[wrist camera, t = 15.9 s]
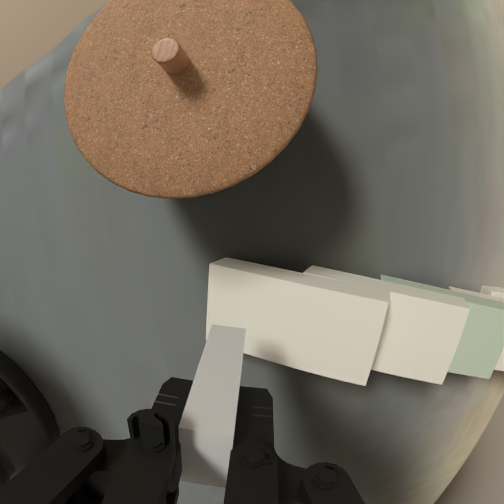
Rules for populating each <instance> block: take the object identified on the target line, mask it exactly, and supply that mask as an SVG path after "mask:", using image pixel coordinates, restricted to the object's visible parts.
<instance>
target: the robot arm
mask: <svg viewBox="0 0 504 504" xmlns="http://www.w3.org/2000/svg"><path fill="white" fill-rule="evenodd" d="M245 334H246V328H237V327H229V326H221V325H213V324H212V327H211V330H210V333H209V336H208V339H207V342H206V345H205V348H204V351H203V354H202V357H201V360H200V363H199V366H198V369H197V372H196V375H195V378H194V381H191V380H185V379H179V378H174V377H171V378H170V379H169V380H167V381H166V382H165V383H163V385H162V387H161V389H160V391H159V394H158V396H157V398H156V400H155V402H154V404H153V407H152V409H144V410H139V411H137V412H135V413H133V414H131V415H130V416H129V418H128V419H127V421H128V427H129V432H130V438H129V439H125V440H103V439H102V437H101V435H100V434H99V433H97V432H96V431H95V430H93V429H90V428H87V427H77V428H72V429H70V430H68V431H67V432H65V433H64V434H63V435H62V436H61V437H59V433H58V427H57V424H56V421H55V419H54V416H53V414H52V412H51V410H50V408H49V407H48V405H47V403H46V402H45V400H44V399H43V397H42V396H41V394H40V393H39V391H38V390H37V389H36V387H35V386H34V385H33V383H32V382H31V381H30V380H29V379H28V377H27V376H26V375H25V374H24V373H23V372H22V371H21V370H20V369H19V368H18V367H17V366H16V365H15V364H14V363H13V362H12V361H11V360H10V359H9V358H8V357H7V356H5V355H4V354H3V353H1V352H0V504H177V499H178V495H179V486H178V485H179V481H180V477H181V479H182V481H186V482H192V483H198V484H205V485H212V486H219V487H226V490H225V498H224V504H365V503H364V501H363V499H362V498H361V496H360V494H359V493H358V491H357V489H356V487H355V486H354V484H353V482H352V480H351V479H350V477H349V475H348V474H347V473H346V471H345V470H344V469H343V468H341V467H339V466H337V465H336V464H331V463H317V464H314V465H311V466H310V467H308V468H307V469H305V468H301V467H297V466H294V465H291V464H288V463H286V462H285V461H283V460H282V459H281V458H280V457H279V456H278V455H277V453H276V452H275V449H274V429H273V398H272V396H271V395H270V393H269V392H268V390H267V389H263V388H252V387H243V386H240V378H241V369H242V360H243V351H244V342H245Z"/></svg>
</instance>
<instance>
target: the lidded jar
mask: <svg viewBox="0 0 504 504" xmlns="http://www.w3.org/2000/svg"><path fill="white" fill-rule="evenodd" d="M316 78H317V56H316V49H315V45H314V41H313V38H312V34H311V32H310V30H309V28H308V25H307V23H306V21H305V19H304V17H303V16H302V15H301V13H300V12H299V10H298V9H297V8H296V6H295V5H294V4H293V3H292V2H291V1H290V0H111V1H110V2H109V3H108V4H107V5H106V6H105V7H104V8H103V9H102V10H101V11H100V12H99V13H98V14H97V15H96V16H95V18H94V19H93V20H92V21H91V23H90V24H89V25H88V27H87V28H86V29H85V31H84V33H83V34H82V36H81V38H80V40H79V42H78V43H77V45H76V48H75V50H74V52H73V55H72V57H71V60H70V63H69V67H68V71H67V76H66V83H65V94H64V99H65V111H66V117H67V121H68V125H69V129H70V132H71V134H72V137H73V139H74V141H75V143H76V145H77V147H78V149H79V150H80V152H81V153H82V155H83V156H84V158H85V159H86V161H87V162H88V163H89V164H90V165H91V166H92V167H93V168H94V169H95V170H96V171H97V172H98V173H99V174H101V175H102V176H104V177H105V178H106V179H108V180H109V181H111V182H112V183H114V184H116V185H118V186H120V187H122V188H124V189H126V190H128V191H131V192H134V193H138V194H142V195H145V196H149V197H158V198H167V199H174V198H191V197H196V196H201V195H206V194H211V193H214V192H217V191H220V190H223V189H225V188H228V187H231V186H234V185H236V184H237V183H239V182H241V181H243V180H245V179H247V178H249V177H250V176H252V175H254V174H255V173H257V172H258V171H259V170H261V169H262V168H263V167H265V166H266V165H267V164H269V163H270V162H271V161H272V160H273V159H274V158H275V157H276V156H277V155H278V154H279V153H280V152H281V151H282V150H283V149H284V148H285V147H286V146H287V145H288V144H289V142H290V141H291V139H292V138H293V137H294V135H295V134H296V133H297V131H298V130H299V128H300V126H301V124H302V122H303V120H304V118H305V116H306V114H307V112H308V111H309V108H310V105H311V102H312V98H313V95H314V92H315V87H316Z"/></svg>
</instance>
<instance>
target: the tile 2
mask: <svg viewBox="0 0 504 504" xmlns="http://www.w3.org/2000/svg"><path fill="white" fill-rule="evenodd" d="M303 273H305V274H310V275H315V276H320V277H324V278H329V279H334V280H339V281H344V282H349V283H354V284H359V285H364V286H369V287H374V288H379V289H384V290H389V291H390V294H389V304H388V308H387V312H386V316H385V320H384V324H383V328H382V332H381V336H380V339H379V343H378V347H377V350H376V354H375V357H374V360H373V364H372V367H371V370H375V371H379V372H383V373H388V374H392V375H397V376H401V377H406V378H411V379H415V380H420V381H425V382H430V383H436V384H441V385H442V383H443V381H444V379H445V376H446V374H447V372H448V369H449V367H450V364H451V362H452V359H453V357H454V354H455V352H456V349H457V346H458V344H459V341H460V338H461V335H462V332H463V329H464V326H465V323H466V320H467V317H468V314H469V311H470V308H469V306H468V304H467V303H466V301H465V299H464V298H462V297H457V296H452V295H448V294H443V293H438V292H434V291H429V290H425V289H420V288H415V287H411V286H406V285H401V284H397V283H392V282H388V281H383V280H378V279H374V278H369V277H365V276H360V275H355V274H351V273H346V272H341V271H337V270H332V269H328V268H323V267H318V266H314V265H312V266H310V267H309V268H308V269H307V270H305V271H304V272H303Z"/></svg>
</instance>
